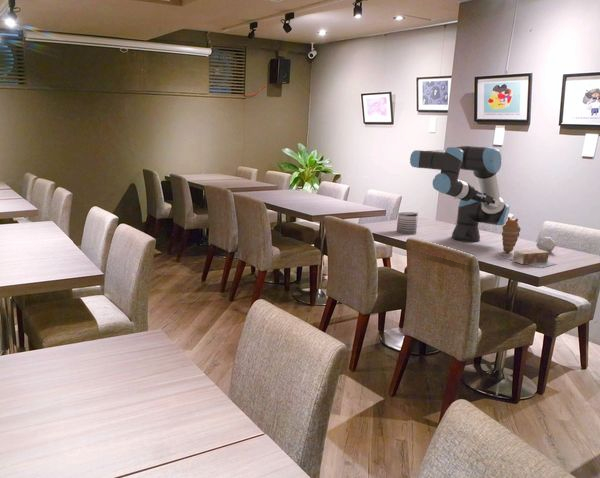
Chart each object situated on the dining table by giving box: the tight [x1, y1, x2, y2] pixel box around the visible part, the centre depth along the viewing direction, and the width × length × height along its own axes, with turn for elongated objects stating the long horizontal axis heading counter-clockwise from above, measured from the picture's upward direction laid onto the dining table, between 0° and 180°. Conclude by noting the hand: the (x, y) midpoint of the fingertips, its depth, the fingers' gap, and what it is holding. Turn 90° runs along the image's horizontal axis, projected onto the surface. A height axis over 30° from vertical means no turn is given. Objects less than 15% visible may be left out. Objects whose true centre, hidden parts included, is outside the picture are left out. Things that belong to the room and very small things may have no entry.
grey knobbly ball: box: [535, 236, 557, 254], centre depth 266 cm, size 8×9×10 cm
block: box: [512, 248, 550, 265], centre depth 242 cm, size 5×6×16 cm
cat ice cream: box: [501, 216, 521, 254], centre depth 258 cm, size 9×8×18 cm
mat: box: [505, 256, 557, 269], centre depth 244 cm, size 18×14×1 cm
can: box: [396, 211, 419, 236], centre depth 295 cm, size 11×11×12 cm
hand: (496, 203), depth 233 cm, fingers closed
